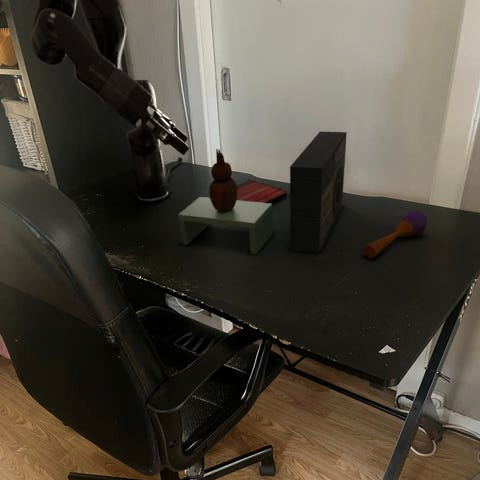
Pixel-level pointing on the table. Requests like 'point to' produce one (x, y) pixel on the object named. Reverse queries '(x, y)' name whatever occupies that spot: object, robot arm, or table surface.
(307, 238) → the cassette player
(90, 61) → the robot arm
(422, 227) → the orange and purple maraca
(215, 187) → the wooden figurine
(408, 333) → the table surface
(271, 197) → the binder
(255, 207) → the desk shelf
